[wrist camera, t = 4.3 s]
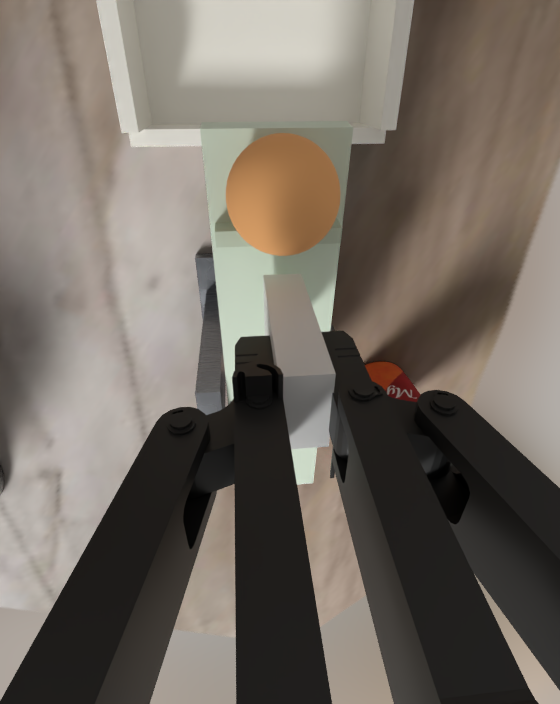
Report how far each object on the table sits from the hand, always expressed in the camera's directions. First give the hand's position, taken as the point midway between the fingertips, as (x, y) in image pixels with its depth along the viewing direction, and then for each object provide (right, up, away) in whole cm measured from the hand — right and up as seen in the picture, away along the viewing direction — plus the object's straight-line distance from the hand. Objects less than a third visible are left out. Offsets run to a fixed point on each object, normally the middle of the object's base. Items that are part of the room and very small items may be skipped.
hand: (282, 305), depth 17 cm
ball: (0, +3, -4) cm, 5 cm away
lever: (-1, +2, +9) cm, 9 cm away
